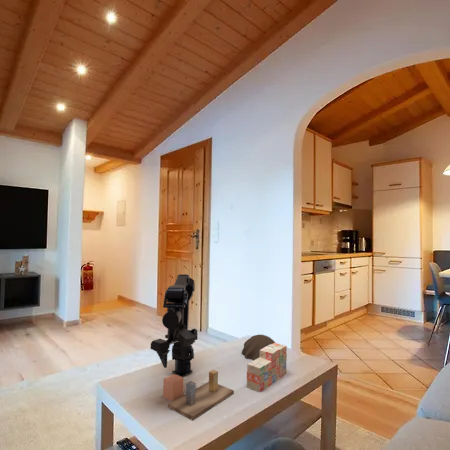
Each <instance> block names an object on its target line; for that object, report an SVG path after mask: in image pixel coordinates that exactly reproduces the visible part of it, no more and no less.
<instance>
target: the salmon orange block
mask: <svg viewBox="0 0 450 450" xmlns="http://www.w3.org/2000/svg"><path fill="white" fill-rule="evenodd" d="M184 381H185V379H184V376H183V377H181V376H179V375H177V374H174V373H172V374H171V375H169V376H166V377H164V378H163V383H162V384H163V387H162V388H163V389H162V390H163V391H162V397H163V398H165V399H167V400H169V401H170V402H172V401H174V400H176V399H178V398H179V397H181V396H183V395H184V385H185V383H184Z"/></svg>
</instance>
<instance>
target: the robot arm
mask: <svg viewBox="0 0 450 450" xmlns="http://www.w3.org/2000/svg"><path fill="white" fill-rule="evenodd" d="M195 289H196V284H195V280H194V279H193V278H191V277H190V274H185V273H182V274H181V273H180V274H177V275H176V279H175V282H174V284H173V285H169V286H168V287H167V288H166V290H165V292H164V299H163V306H162V308H164V309H165V308H166V310H167V311H166V312H165V313H164V314H163V316H162V319H161V320H162V325H163V326H164V327H165V328H166V329H167V334H165V335H164V337H165V339H166V340H165V339H163V338H157V339H154V340H152V341H150V350H152V351H154V352H156V353H157V355H158V357H159V359H160V363H161V364H162V366H163V368H164V369H167V368H168V367H167V366H168V356H169V355H168V354H169V353H170V352H171V359H172V361H174V370H172V371H171V372H172V374H176V375H178V376H180V377H183V378H184V376H187V375H189V374H191V373H193V370H192V369H191V366H192V364H191V361H192V360H193V359H195V351H194V350H195V349H194V348H193V344H195V343H196V341H197V340H198V335H199V334H198V330H197V328H192V329H189V321H190V319H189V318H190V317H189V315H190V301H191V300H192V298H193V296H194V292H195ZM171 345H172V347H171V350H170V346H171Z"/></svg>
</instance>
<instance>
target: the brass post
mask: <svg viewBox="0 0 450 450" xmlns="http://www.w3.org/2000/svg"><path fill="white" fill-rule="evenodd" d="M208 382H209V391H211V392H213V393H214V392H216V391H217V390H218V384H219V383H218V382H219V371H217V370H215V369H212V370H209V371H208Z"/></svg>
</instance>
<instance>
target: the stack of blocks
mask: <svg viewBox="0 0 450 450" xmlns="http://www.w3.org/2000/svg"><path fill="white" fill-rule="evenodd" d="M287 357H288V356H287V345H285V344H280V343H276V342H275V343H273V344H270V345H268V346H266V347H265V348H263V349H261V350H260V357H259V358H258V359H256V360H254V361H253V360H251V361H250V362H248V363H247V366H246V370H247V371H246V388H248V389H251V390H253V391H256V392H258V393H260V392H261V391H263V390H265V389H267V388H268V387H270V386H271V385H272V384H274V383H275V382H276V381H278V380H279V379H282V378H283V377H284V376H286V375H287V361H288V359H287ZM285 374H286V375H285Z"/></svg>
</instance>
